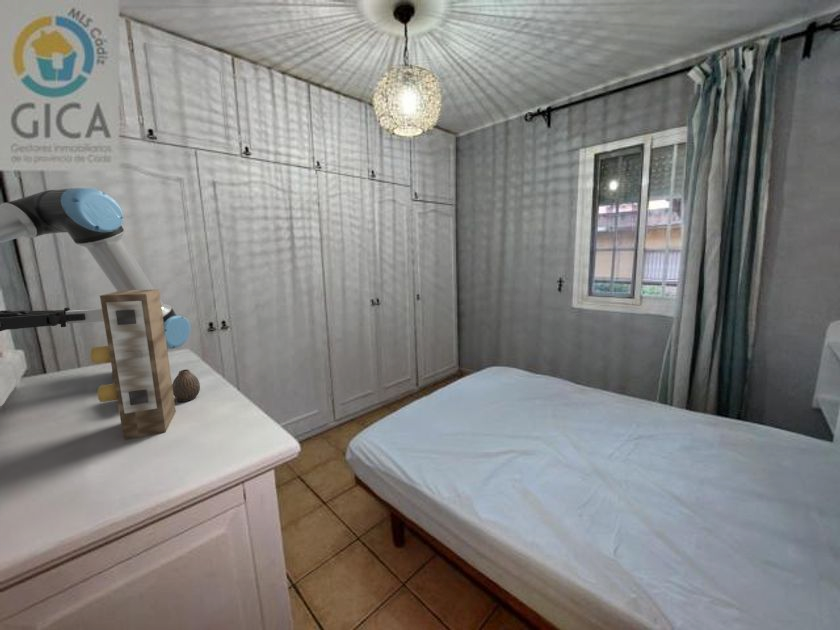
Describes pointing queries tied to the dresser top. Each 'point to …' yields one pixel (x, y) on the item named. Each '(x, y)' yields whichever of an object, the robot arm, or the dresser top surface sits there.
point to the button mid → (100, 355)
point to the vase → (185, 386)
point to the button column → (139, 361)
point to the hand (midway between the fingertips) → (105, 315)
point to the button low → (107, 393)
